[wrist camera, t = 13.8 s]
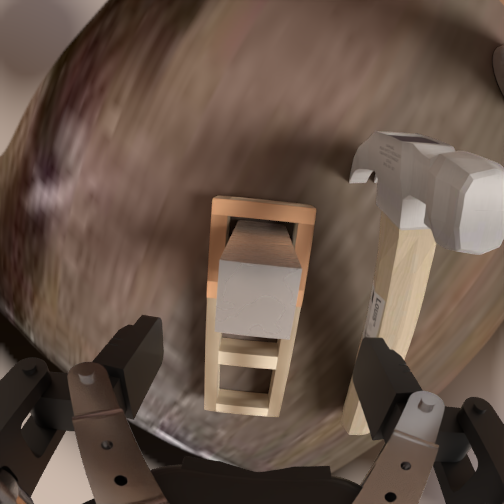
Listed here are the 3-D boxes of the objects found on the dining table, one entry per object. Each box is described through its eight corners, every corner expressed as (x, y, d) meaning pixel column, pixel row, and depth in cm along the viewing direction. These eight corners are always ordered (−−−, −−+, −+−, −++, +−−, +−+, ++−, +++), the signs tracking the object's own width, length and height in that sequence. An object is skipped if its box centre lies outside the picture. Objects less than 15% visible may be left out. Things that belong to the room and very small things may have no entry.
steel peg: (284, 224, 26) (302, 269, 14) (278, 268, 27) (289, 339, 16) (238, 219, 26) (219, 259, 14) (234, 263, 27) (214, 331, 16)
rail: (310, 204, 25) (316, 209, 23) (277, 402, 31) (278, 418, 29) (217, 195, 26) (212, 198, 23) (207, 395, 31) (204, 411, 29)
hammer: (391, 469, 22) (528, 169, 8) (349, 478, 23) (457, 160, 9) (363, 366, 36) (395, 124, 22) (329, 371, 37) (345, 121, 22)
